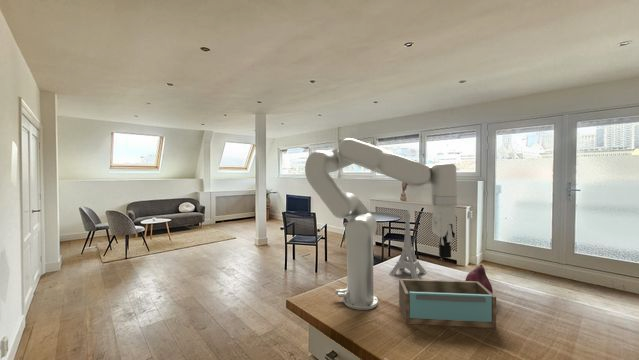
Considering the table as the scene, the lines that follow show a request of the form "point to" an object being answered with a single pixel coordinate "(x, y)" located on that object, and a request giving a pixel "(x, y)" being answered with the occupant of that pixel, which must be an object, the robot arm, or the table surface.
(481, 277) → the vegetable
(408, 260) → the eiffel tower
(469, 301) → the panel
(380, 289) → the table surface
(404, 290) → the tray
